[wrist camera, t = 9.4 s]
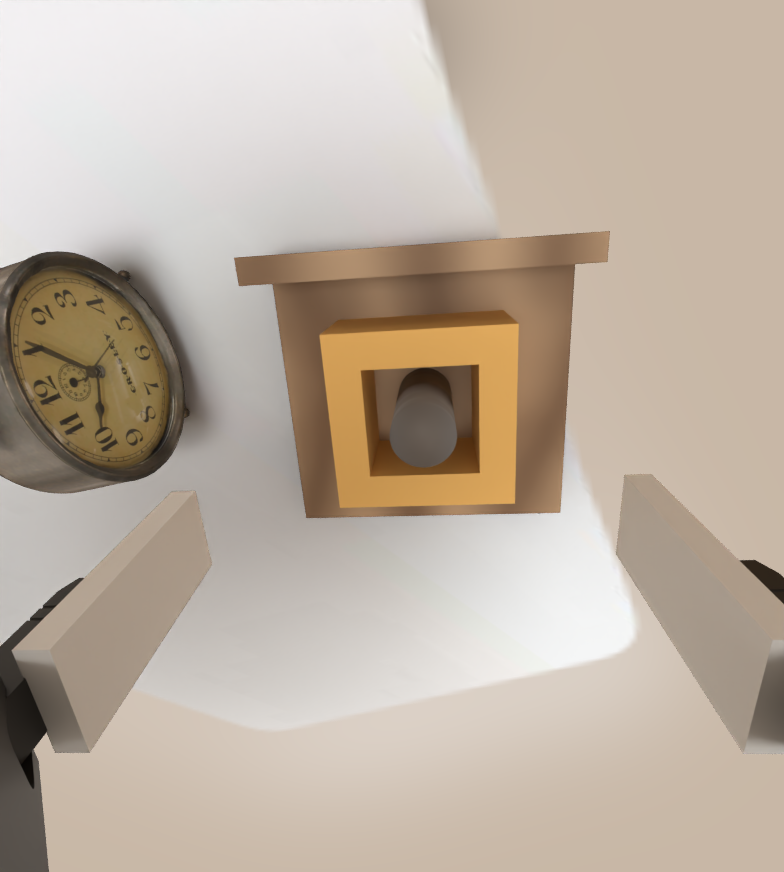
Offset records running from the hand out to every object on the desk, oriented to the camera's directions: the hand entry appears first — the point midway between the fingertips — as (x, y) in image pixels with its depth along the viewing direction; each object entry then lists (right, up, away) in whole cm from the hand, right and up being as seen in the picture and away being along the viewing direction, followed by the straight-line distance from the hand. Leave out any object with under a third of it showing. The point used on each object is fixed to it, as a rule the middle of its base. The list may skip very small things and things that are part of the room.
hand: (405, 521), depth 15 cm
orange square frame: (+1, +5, +13) cm, 14 cm away
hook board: (+2, +6, +14) cm, 16 cm away
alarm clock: (-16, +8, +15) cm, 23 cm away
